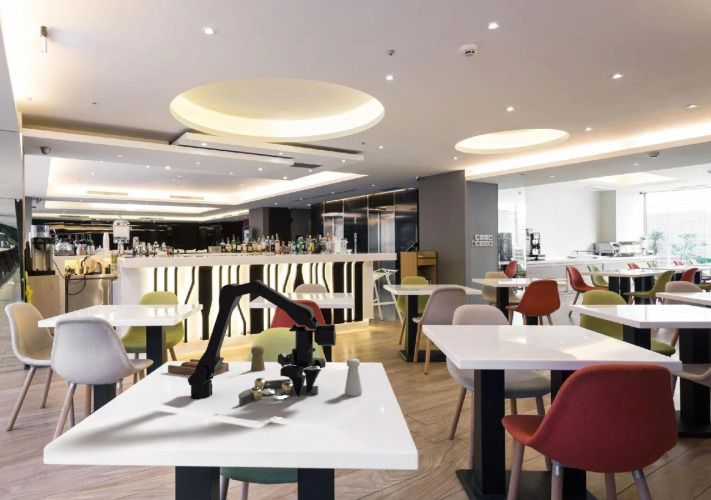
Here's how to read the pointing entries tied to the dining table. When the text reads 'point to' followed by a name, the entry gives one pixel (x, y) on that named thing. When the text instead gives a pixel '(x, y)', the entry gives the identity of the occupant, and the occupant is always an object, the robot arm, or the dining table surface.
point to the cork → (257, 359)
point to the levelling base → (262, 396)
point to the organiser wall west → (180, 370)
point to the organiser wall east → (198, 361)
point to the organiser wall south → (223, 369)
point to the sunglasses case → (189, 364)
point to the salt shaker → (353, 378)
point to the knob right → (289, 389)
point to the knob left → (269, 383)
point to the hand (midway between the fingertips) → (303, 393)
